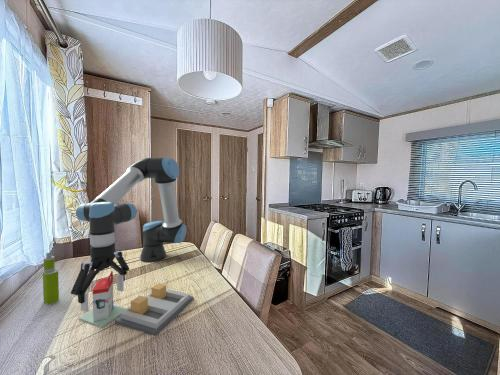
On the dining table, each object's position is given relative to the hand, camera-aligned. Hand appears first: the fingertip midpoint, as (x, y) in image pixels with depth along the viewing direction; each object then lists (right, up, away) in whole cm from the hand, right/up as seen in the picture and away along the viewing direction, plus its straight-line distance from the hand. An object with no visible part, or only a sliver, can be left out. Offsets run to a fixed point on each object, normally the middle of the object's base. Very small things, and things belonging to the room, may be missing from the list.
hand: (103, 299), depth 78 cm
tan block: (+17, -4, +9) cm, 20 cm away
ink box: (0, -5, 0) cm, 5 cm away
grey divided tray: (+19, -6, +3) cm, 20 cm away
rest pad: (0, -6, 0) cm, 6 cm away
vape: (-28, -5, +8) cm, 30 cm away
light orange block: (+14, -5, 0) cm, 14 cm away
